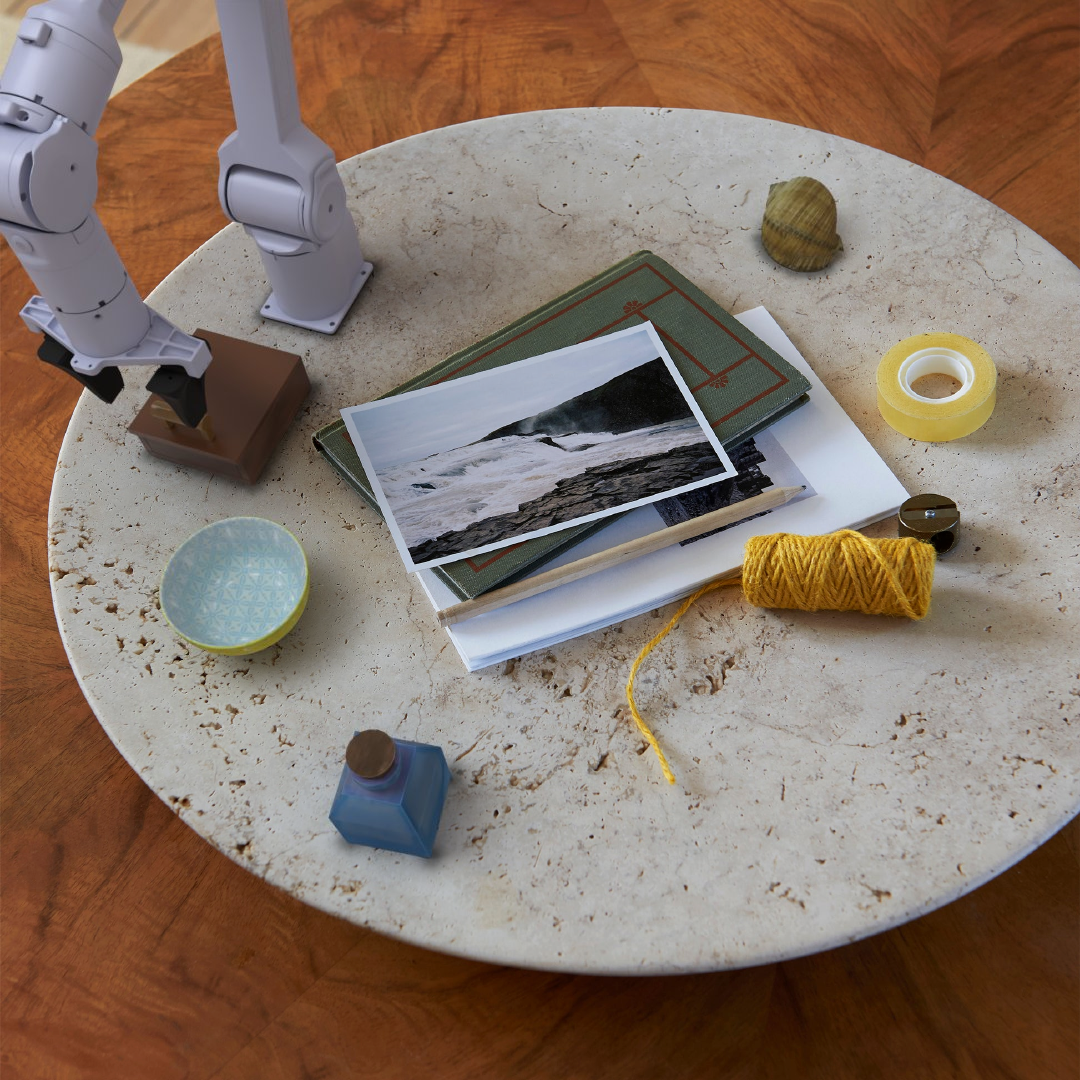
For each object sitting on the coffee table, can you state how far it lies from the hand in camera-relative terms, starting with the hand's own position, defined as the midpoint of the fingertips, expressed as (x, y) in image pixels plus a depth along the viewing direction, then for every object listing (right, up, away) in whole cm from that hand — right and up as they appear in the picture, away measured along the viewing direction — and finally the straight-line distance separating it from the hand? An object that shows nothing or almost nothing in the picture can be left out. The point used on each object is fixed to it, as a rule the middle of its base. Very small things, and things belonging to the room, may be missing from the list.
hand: (155, 406), depth 83 cm
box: (+3, 0, +12) cm, 12 cm away
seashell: (+56, +19, +21) cm, 63 cm away
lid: (+2, +2, +9) cm, 9 cm away
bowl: (+8, -17, +2) cm, 19 cm away
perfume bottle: (+20, -30, -7) cm, 37 cm away
